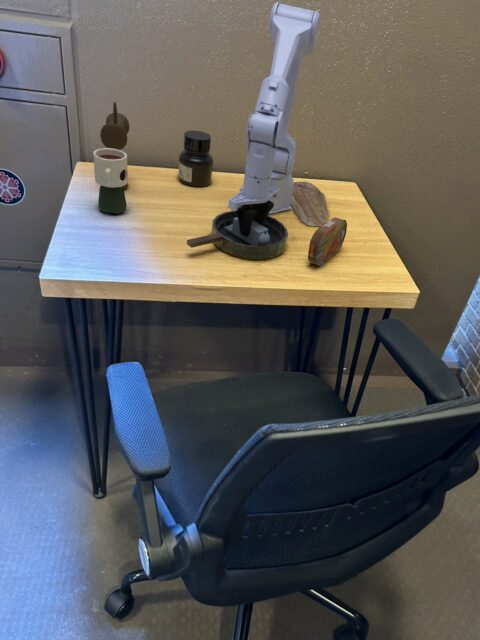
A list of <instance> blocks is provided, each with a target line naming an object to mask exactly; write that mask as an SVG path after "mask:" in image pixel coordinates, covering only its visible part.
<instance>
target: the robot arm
mask: <svg viewBox="0 0 480 640" xmlns="http://www.w3.org/2000/svg"><path fill="white" fill-rule="evenodd" d="M320 21H321V14H320V13H319V10H312V9H307V8H303V7H298V6H294V5H288V4H283V3H280V2H279V1H277V2H275V3H274V4H273V5H272V8H271V12H270V16H269V23H268V33H269V36H270V41H271V43H272V46H273V47H274V51H273V57H272V62H271V68H270V72H269V73H270V74H269V76H268V77H266V78H264V79H263V80H262V82H261V86H260V90H259V93H258V96H257V101H256V104H255V108H254V111H253V113H250V114H249V117H248V120H247V124H246V132H245V133H246V136H245V138H246V145H245V150H246V151H247V152H246V159H245V166H244V167H245V168H244V175H243V184H242V186H240V187H239V192H238V193H237V194H236V195H234V196H233V197H230V198H228V203H227V208H228V209H229V210H230V211H235V212H236V214H237V217H238V222H239V228H240V233H241V234H242V235H244V236H246V237H247V236H248V235H249V233H250V229H251V225H252V221H255V222H257V223H259V224H260V225H263V222H264V220H265V218H266V217H267V215H268V216H269V215H271V214H275V213H280V212H286V211H290V210H292V209H293V208H292V206H291V204H290V201H291V196H292V191H293V182H294V178H293V175H292V173H293V169H294V166H295V162H296V156H297V155H296V154H297V142H296V141H295V140H294V138H293V137H292V136H291V135H290V134H289V128H290V124H291V123H290V122H291V116H292V112H293V106H294V100H295V95H296V90H297V85H298V79H299V74H300V68H301V65H302V62H303V60H304V58H305V57H307V56H311V55H313V53H314V52H313V51H314V50H315V47H316V42H317V37H318V33H319V28H320V23H321V22H320Z"/></svg>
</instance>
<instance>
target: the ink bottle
mask: <svg viewBox="0 0 480 640" xmlns="http://www.w3.org/2000/svg"><path fill="white" fill-rule="evenodd" d="M211 143H212V136H211V135H210V134H209V133H207V132H204V131H202V130H201V131H200V130H187V131H185V132H184V134H183V150H182V151H181V152H180V153H179V155H178V180H179V182H181V183H182V184H183V185H186V186H189V187H207V186H209V185H210V184H211V183H212V178H213V165H214V158H213V156H212V155H211V153H210V151H211Z"/></svg>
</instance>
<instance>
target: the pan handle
mask: <svg viewBox="0 0 480 640" xmlns="http://www.w3.org/2000/svg"><path fill="white" fill-rule="evenodd" d="M218 241H222V236H221V235H220V234H218V233H215V234H212V233H211V234H206V235H203V236H199V237H194V238H189V239H186V245H187V246H189V248H191V249H192V248H197V247H202V246H205V245H209V244H214V242H218Z"/></svg>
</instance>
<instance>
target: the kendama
mask: <svg viewBox="0 0 480 640" xmlns="http://www.w3.org/2000/svg"><path fill="white" fill-rule="evenodd" d="M112 105H113V106H112V113H110V114H108V115H107V117H106V118H105V124H104V125H103V126H102V127H101V129H100V134H99V136H100V141H101V142H102V145H103V146H104V147H105V148H113V149H118V150H121V151H122V149H125V147H126V146H127V144H128V133H129V132H130V126H131V125H130V122H129V119H128V118H127V116H125V114H122V113H119V112H118V106H117V102H116V101H114V102H113V103H112ZM128 182H129V181H128ZM128 182H127V184H126V185H124V186H122V187H123V189H124V190H125V189H127V188H128V187H129V183H128Z"/></svg>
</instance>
